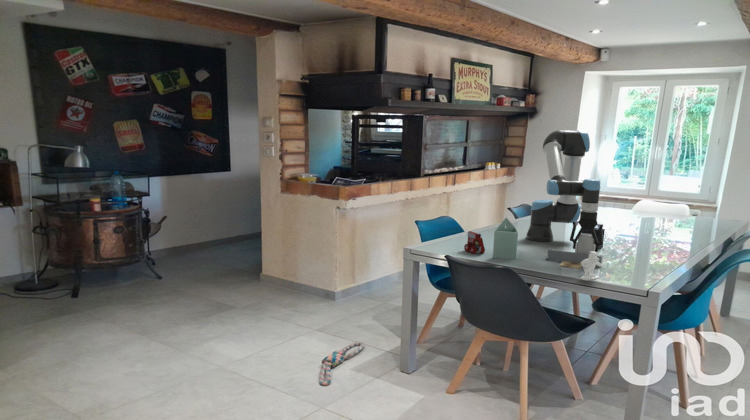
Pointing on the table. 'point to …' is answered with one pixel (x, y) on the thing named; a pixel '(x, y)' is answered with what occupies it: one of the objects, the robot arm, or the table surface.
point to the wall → (569, 256)
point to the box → (596, 235)
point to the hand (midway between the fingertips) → (584, 256)
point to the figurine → (590, 266)
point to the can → (585, 243)
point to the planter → (505, 241)
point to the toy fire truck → (474, 243)
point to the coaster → (571, 264)
